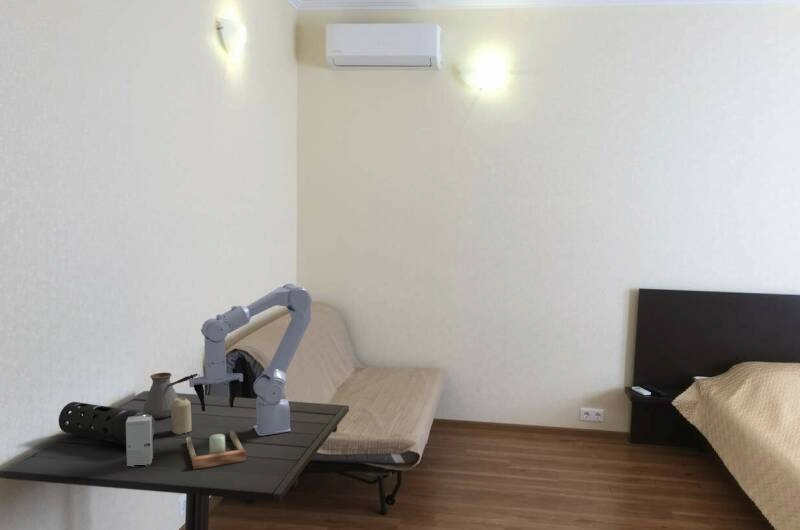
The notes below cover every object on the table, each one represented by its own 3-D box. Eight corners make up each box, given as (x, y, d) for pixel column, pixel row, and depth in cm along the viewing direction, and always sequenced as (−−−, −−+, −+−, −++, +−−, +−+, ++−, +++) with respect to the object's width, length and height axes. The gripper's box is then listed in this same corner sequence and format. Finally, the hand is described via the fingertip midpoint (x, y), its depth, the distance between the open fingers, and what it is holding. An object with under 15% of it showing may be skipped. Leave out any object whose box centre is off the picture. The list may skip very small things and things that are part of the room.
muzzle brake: (86, 430, 198) (83, 396, 197) (158, 443, 187) (157, 407, 186) (58, 441, 189) (56, 406, 188) (133, 455, 178) (131, 418, 177)
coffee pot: (135, 417, 209) (133, 371, 207) (163, 406, 219) (161, 362, 217) (186, 427, 200) (184, 378, 198) (213, 415, 210) (211, 369, 208)
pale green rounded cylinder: (224, 454, 178) (223, 433, 178) (226, 460, 174) (225, 438, 174) (209, 457, 177) (208, 435, 176) (211, 462, 173) (210, 440, 172)
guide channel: (234, 435, 192) (234, 427, 192) (246, 460, 174) (246, 451, 174) (186, 442, 187) (185, 434, 187) (193, 469, 169) (193, 459, 168)
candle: (185, 435, 193) (184, 401, 192) (168, 434, 194) (166, 400, 193) (195, 428, 198) (193, 396, 197) (178, 427, 199) (176, 395, 198)
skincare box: (126, 467, 170) (124, 422, 169) (129, 460, 174) (127, 416, 173) (151, 465, 171) (149, 420, 170) (154, 458, 176) (152, 414, 175)
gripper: (190, 367, 180) (192, 416, 181) (244, 362, 185) (245, 409, 187) (187, 361, 186) (189, 408, 187) (239, 356, 192) (241, 401, 193)
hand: (217, 408), depth 187 cm, fingers open, 7 cm apart
